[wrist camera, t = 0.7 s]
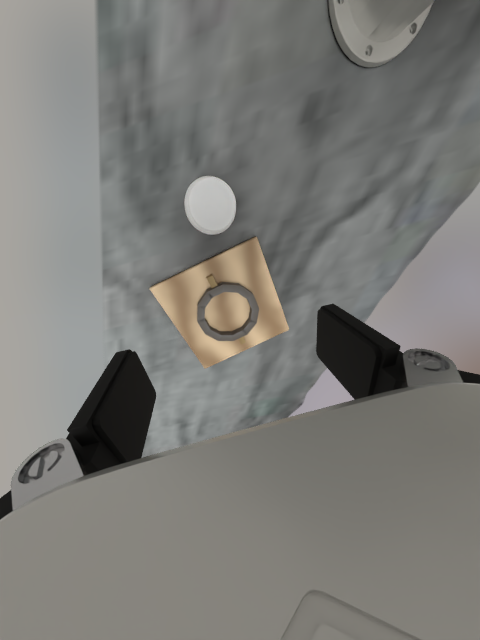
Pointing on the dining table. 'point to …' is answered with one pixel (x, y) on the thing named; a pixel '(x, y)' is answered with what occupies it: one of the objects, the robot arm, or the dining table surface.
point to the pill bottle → (210, 205)
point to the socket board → (224, 303)
